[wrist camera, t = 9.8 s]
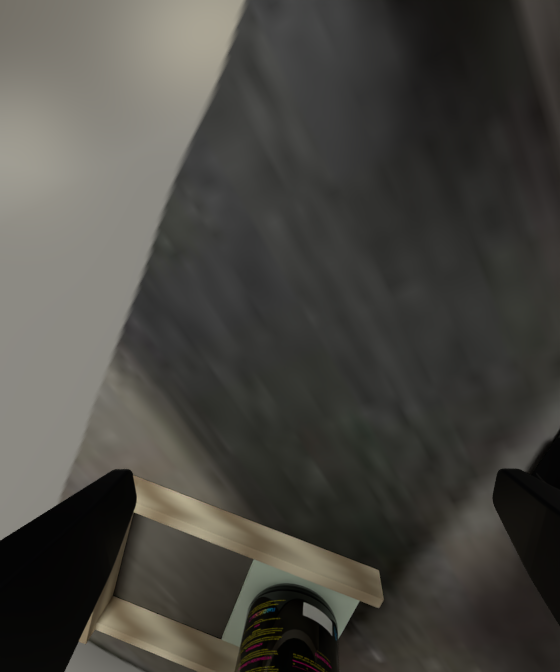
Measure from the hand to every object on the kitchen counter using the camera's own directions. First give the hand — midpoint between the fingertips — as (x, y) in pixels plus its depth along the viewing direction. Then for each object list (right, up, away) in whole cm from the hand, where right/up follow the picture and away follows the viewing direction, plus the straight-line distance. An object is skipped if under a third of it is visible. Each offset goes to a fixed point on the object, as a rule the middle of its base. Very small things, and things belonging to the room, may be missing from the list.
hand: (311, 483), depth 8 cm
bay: (-4, -16, +17) cm, 23 cm away
